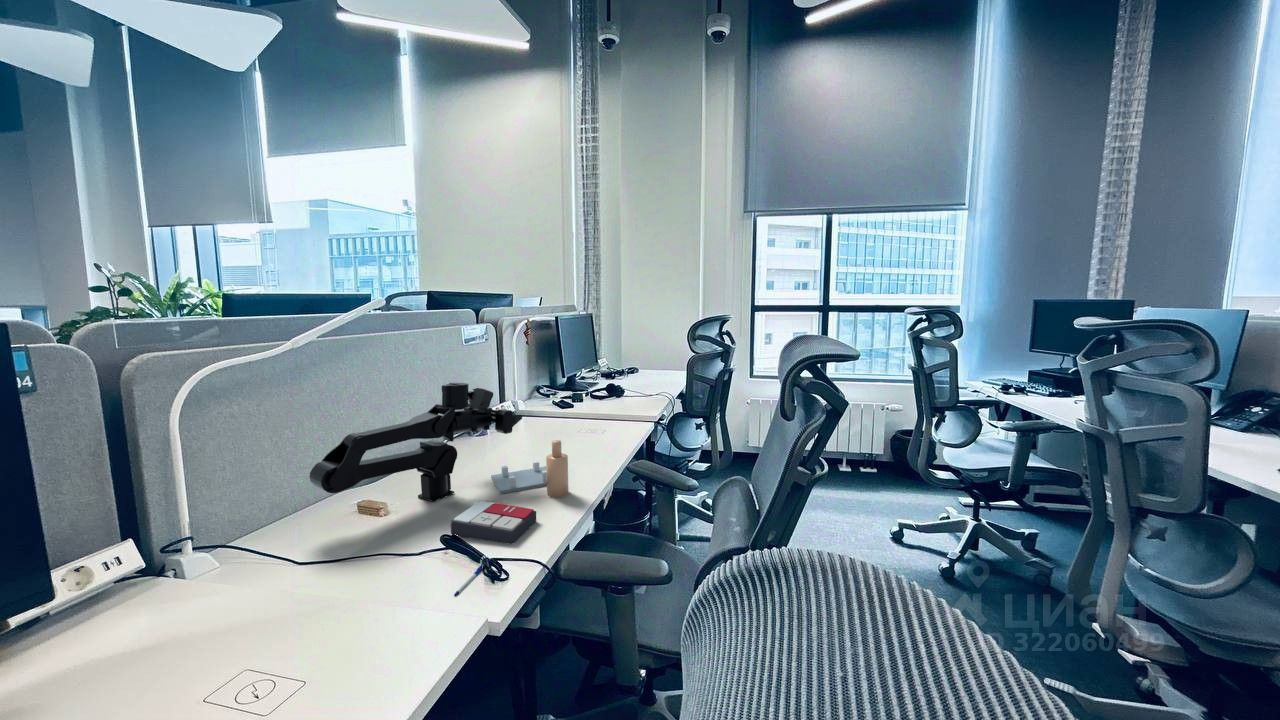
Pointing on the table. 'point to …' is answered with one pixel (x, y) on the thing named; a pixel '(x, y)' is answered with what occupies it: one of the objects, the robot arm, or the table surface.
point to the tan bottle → (557, 472)
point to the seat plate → (520, 479)
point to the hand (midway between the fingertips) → (511, 414)
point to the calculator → (494, 522)
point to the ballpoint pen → (469, 580)
